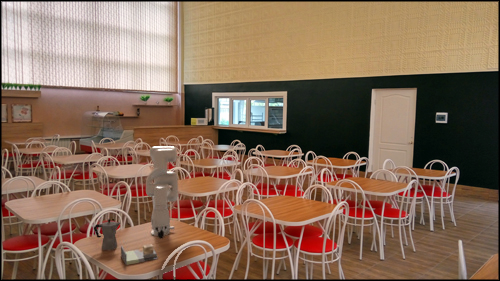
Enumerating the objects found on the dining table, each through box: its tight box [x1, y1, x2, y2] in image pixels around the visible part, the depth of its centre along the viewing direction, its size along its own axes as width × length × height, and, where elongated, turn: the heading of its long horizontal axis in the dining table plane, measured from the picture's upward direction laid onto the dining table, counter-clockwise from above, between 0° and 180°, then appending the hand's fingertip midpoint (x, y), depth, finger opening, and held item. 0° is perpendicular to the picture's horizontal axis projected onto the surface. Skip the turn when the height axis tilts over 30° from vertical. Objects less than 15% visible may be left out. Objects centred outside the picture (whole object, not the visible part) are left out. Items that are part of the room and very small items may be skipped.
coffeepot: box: [93, 218, 121, 251], centre depth 226 cm, size 15×9×18 cm, turn 119°
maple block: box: [142, 243, 154, 254], centre depth 216 cm, size 5×4×4 cm
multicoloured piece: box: [120, 245, 159, 266], centre depth 214 cm, size 18×14×6 cm
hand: (160, 237), depth 218 cm, fingers closed
